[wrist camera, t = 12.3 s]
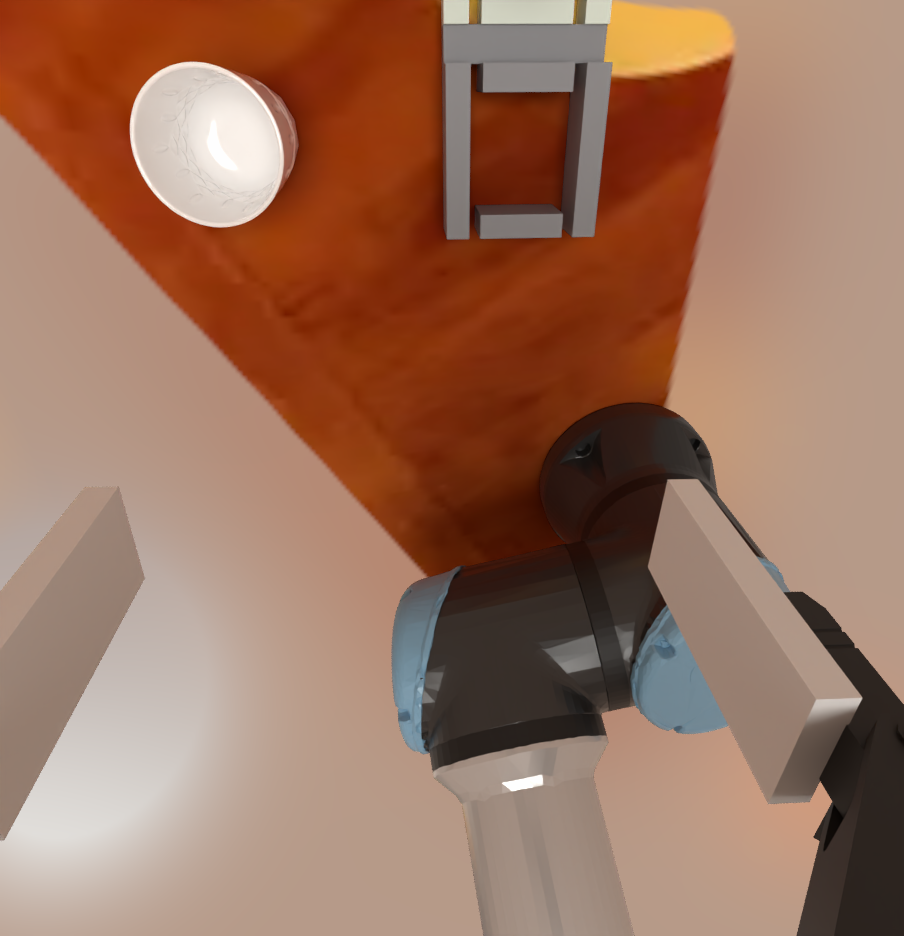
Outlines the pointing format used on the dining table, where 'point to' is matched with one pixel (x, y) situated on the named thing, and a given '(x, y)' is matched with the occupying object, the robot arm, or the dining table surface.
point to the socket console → (526, 70)
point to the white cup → (212, 142)
